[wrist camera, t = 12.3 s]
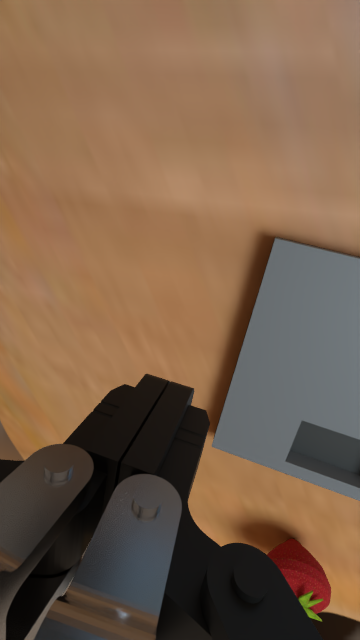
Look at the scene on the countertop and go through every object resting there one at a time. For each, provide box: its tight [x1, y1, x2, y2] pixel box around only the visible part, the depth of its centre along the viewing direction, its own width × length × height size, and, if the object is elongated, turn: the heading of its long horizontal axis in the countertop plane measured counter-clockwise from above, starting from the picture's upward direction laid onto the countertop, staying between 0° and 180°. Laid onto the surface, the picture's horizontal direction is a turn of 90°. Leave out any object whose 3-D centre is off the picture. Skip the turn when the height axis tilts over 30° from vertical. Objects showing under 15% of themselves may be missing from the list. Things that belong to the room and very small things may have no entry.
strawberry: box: [267, 539, 331, 621], centre depth 38 cm, size 6×8×10 cm
